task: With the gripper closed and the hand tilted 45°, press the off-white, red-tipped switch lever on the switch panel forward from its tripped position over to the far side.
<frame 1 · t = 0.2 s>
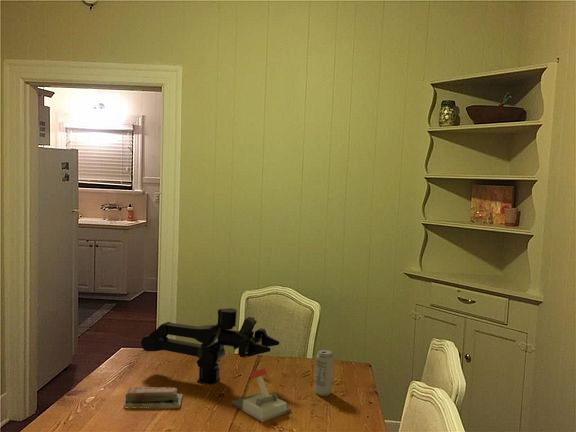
hand: (274, 346, 186), 16 cm above the table, tool horizontal, fingers open, 9 cm apart
switch lever: (262, 385, 172), point 8 cm above the table, hinge at -35.0°
switch panel: (266, 413, 170), on the table
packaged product: (153, 403, 175), on the table
energy drink can: (323, 393, 188), on the table
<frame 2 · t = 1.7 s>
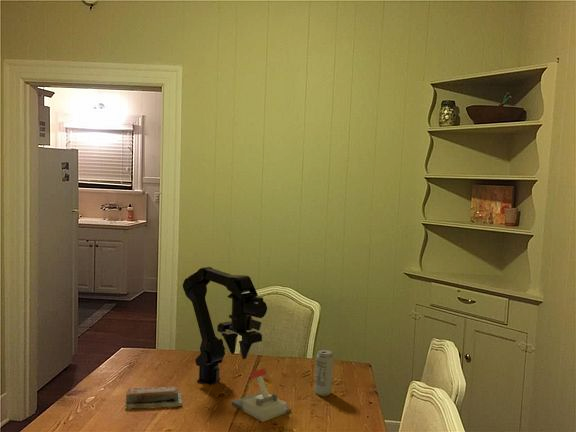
hand: (238, 356, 184), 13 cm above the table, tool pointing down, fingers open, 6 cm apart
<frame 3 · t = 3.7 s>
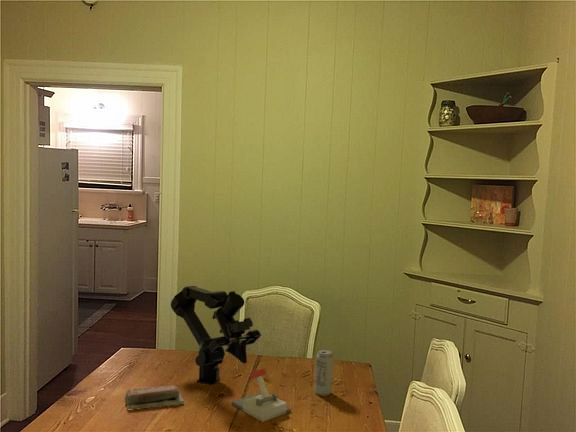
hand: (245, 362, 178), 13 cm above the table, tool tilted 45°, fingers closed
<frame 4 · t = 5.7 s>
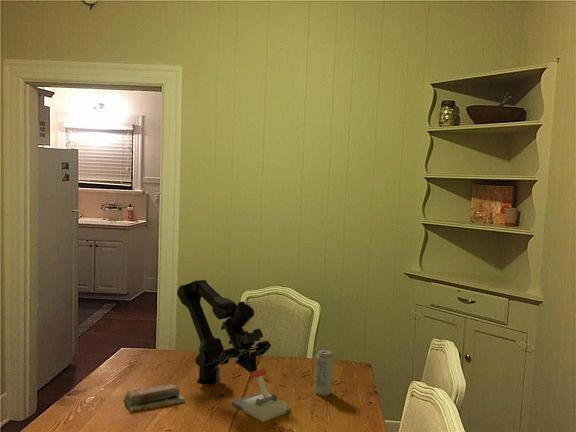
hand: (255, 375, 174), 11 cm above the table, tool tilted 45°, fingers closed, pressing on switch lever
switch lever: (262, 385, 172), point 8 cm above the table, hinge at -34.7°, touching gripper
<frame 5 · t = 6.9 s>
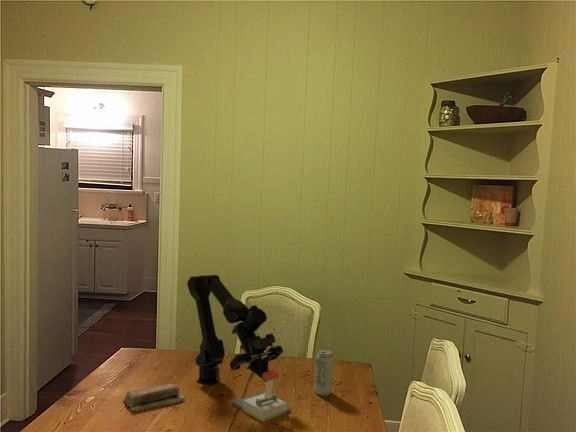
hand: (267, 381, 170), 11 cm above the table, tool tilted 45°, fingers closed, pressing on switch lever
switch lever: (268, 386, 169), point 9 cm above the table, hinge at 9.5°, touching gripper
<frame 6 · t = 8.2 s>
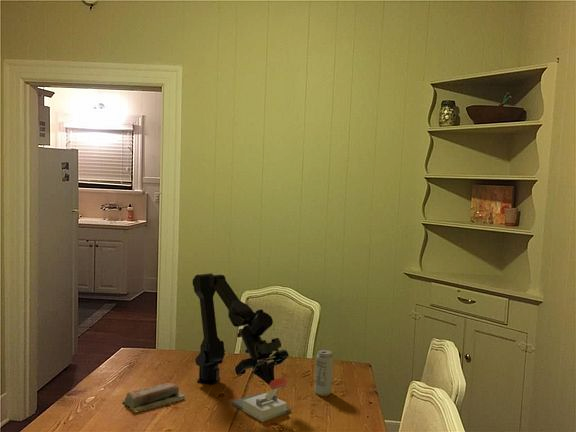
hand: (273, 386, 168), 10 cm above the table, tool tilted 45°, fingers closed, pressing on switch lever
switch lever: (272, 391, 168), point 8 cm above the table, hinge at 35.7°, touching gripper
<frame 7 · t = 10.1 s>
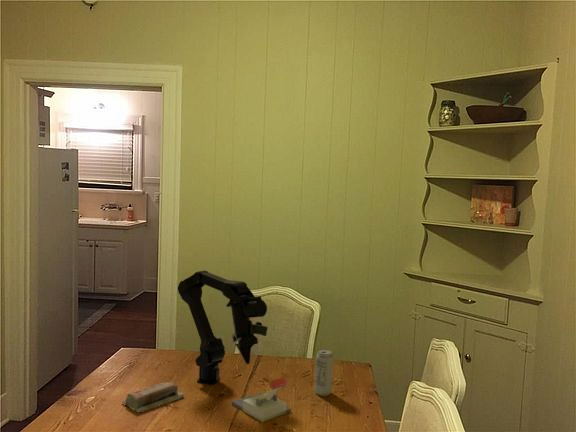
hand: (247, 363, 183), 11 cm above the table, tool pointing down, fingers closed
switch lever: (272, 391, 168), point 8 cm above the table, hinge at 35.7°
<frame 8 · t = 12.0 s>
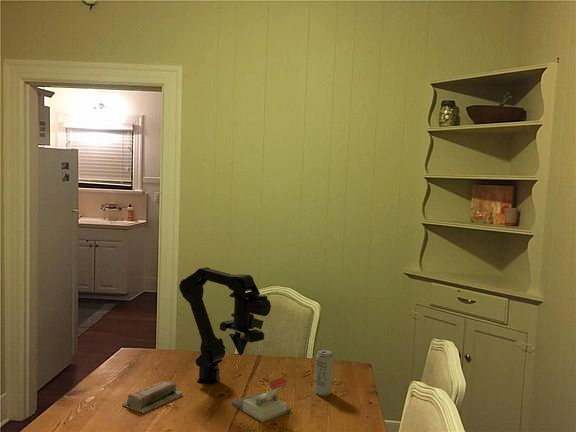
hand: (240, 354, 186), 13 cm above the table, tool pointing down, fingers closed
at the end: switch lever at +36° (first picture: -35°) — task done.
